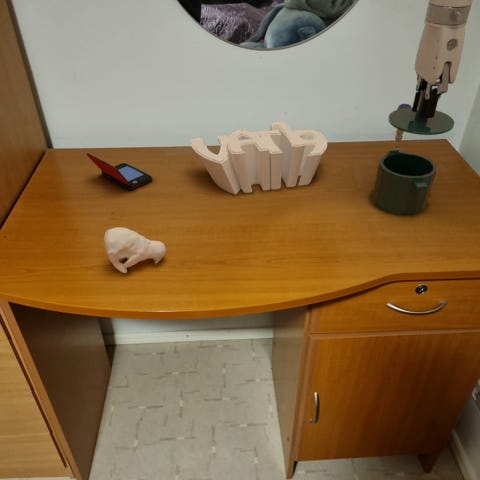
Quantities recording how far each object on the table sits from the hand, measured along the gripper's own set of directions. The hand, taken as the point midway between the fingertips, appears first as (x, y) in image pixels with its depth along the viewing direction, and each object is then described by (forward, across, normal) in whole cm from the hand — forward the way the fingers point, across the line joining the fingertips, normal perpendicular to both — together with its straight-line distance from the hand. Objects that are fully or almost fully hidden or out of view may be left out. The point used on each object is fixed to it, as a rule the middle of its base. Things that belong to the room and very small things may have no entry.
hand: (422, 113), depth 102 cm
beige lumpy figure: (+20, -17, +63) cm, 68 cm away
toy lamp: (+21, +16, -3) cm, 27 cm away
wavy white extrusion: (+21, +17, +32) cm, 41 cm away
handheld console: (+20, +19, +68) cm, 73 cm away
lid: (+2, 0, 0) cm, 2 cm away
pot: (+21, 0, +1) cm, 21 cm away
